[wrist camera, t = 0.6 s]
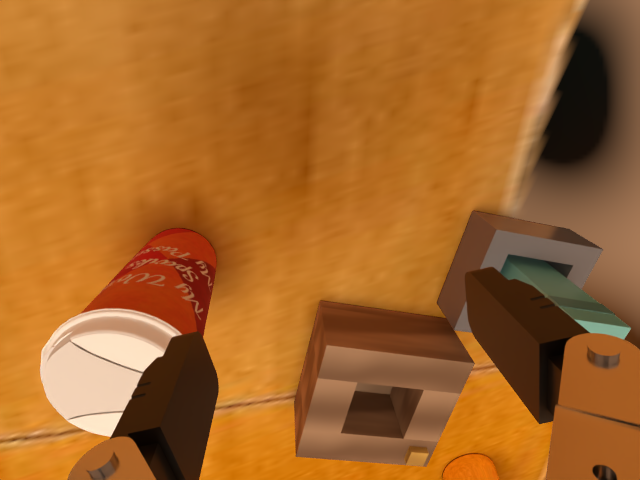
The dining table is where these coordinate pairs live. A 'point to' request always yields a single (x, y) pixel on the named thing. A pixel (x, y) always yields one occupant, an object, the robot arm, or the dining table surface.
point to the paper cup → (128, 329)
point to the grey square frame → (516, 239)
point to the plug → (565, 295)
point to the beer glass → (471, 468)
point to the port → (377, 385)
